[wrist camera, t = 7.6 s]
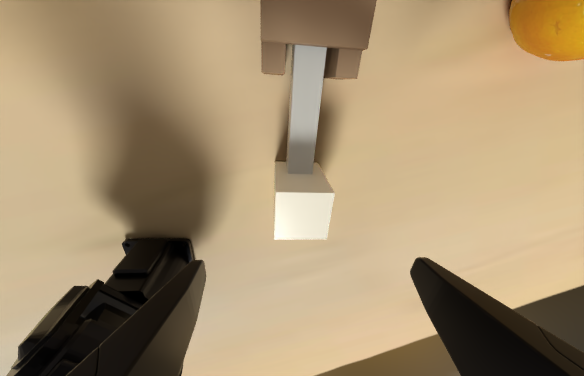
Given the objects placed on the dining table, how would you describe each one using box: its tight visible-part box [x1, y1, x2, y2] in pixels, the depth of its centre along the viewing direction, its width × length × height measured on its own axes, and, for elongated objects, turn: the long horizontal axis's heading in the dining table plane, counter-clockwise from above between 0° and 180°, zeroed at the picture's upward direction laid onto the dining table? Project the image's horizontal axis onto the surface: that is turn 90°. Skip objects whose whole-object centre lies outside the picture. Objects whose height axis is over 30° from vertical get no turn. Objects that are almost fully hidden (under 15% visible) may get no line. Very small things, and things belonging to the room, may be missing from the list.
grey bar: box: [274, 45, 335, 240], centre depth 14 cm, size 18×4×6 cm, turn 176°
